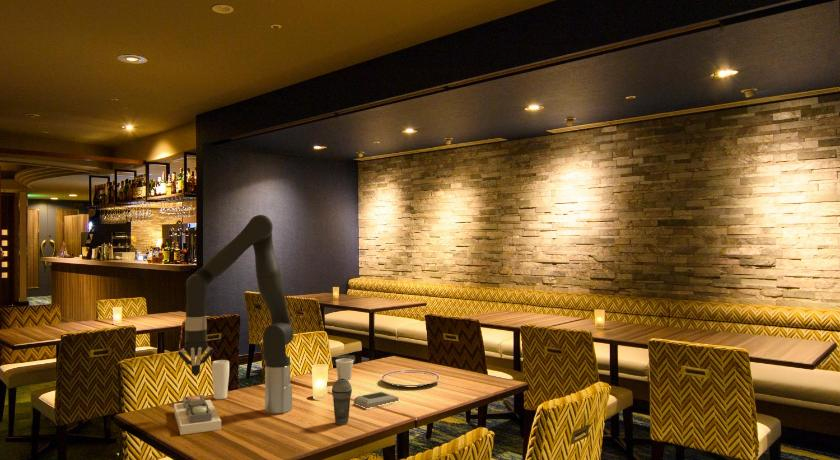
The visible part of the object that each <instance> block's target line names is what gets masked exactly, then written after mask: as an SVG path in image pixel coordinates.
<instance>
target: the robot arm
mask: <svg viewBox="0 0 840 460" xmlns="http://www.w3.org/2000/svg"><path fill="white" fill-rule="evenodd" d="M248 221H249V222H248V223H247V224H246V225H245V226H244V228H243V229H242V230H241V231H240V232H239V233H238V235H237V236H236V237H234V238H233V239H232V240H231V241H230V242H229V243H227V244H226V245H225V246H224V247H222V248H221V249H220V250H219V251H218V252H217V253H215V254H214V255H213V256H212V257H210V259H209V260H207V261H206V263H205V264H204V265H203V266H201V267H200V268H199V269H198V270H195V272H193V273H192V274H191V275H189V277H188V278H187V279H186V282H185V292H186V293H185V294H186V304H185V322H184V345H183V348H182V349H180V350H178V351H177V355H179V357H180V358H181V359H182V361H184V362H185V363H186V365H189V366H191V374H192V375H193V377H196V376H199V374H201V365H202V364H204V363H206V362H207V360H208V359H209V358H210V356H211V355H212V354H213V353H214V351H215V350H214V349H213V347H210V346H209V344H208V342H207V341H208V340H207V339H208V337H207V333H208V332H207V331H208V329H207V328H208V325H207V324H208V322H207V305H206V299H207V298H206V297H207V287H208V286H209V285H210V284H211V283H212V282H213V281H214V280H215V279H217V278H219V277H220V276H221V275H222V274H223V273H225V272H226V271H227V270H228V269H229V268H231V266H232V265H233V264H234V263H235V262H236V261H237V260H238V259H240V257H241V256H242V255H243V254H244V253H245V252H247V250H248V249H249V248H250V247H253V251H254V261H255V262H254V263H255V273H256V281H257V286H258V288H257V289H258V291H259V294H260V296H261V298H262V300H263V301H264V303H265V305H266V306H267V309H268V312H269V315H270V320H271V324H269V325H267V326H266V328H265V329H264V330H263V334H262V353H263V355H262V356H263V360H264V362H265V369H264V370H265V371H264V373H265V375H264V379H265V380H264V384H265V385H264V386H265V387H264V412H265V413H267V414H276V415H277V414H285V413H288V412H289V411H291V410H293V384H292V383H291V358H290V357H289V355H287V351H286V350H287V349H286V346H287V345H290V343H291V342H292V340H293V339H294V328H293V324H292V322H291V318H290V314H289V312H288V308H287V307H288V306H287V301H286V296H285V291H284V284H283V279H282V278H283V277H282V272H281V269H280V265H279V261H278V259H277V257H276V254H275V250H274V244H273V222H272V220H271V219H270V218H269V216H266V215H264V214H258V215H255V216H253V217H252V218H250V220H248ZM205 352H206V353H205ZM186 353H187V355H188V356H190V360H189V358H187V356H186ZM204 353H205V355H204V356H203V357H202V355H203V354H204Z"/></svg>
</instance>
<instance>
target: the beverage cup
mask: <svg viewBox="0 0 840 460" xmlns="http://www.w3.org/2000/svg"><path fill="white" fill-rule="evenodd" d="M339 377H340V379H338V378H337V380H336V381H334V382H333V384H332V387H331V394H332V401H333V411H334V412H333V415H334V423H336V424H335V425H337V424H345V425H347V424H346V423H348V424H349V417H350V408H351V396H352V393H353V392H352V391H353V389H352V384H351V382H350V383H349V381H348V380H346V379H341V371H340V366H339Z"/></svg>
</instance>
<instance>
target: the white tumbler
mask: <svg viewBox="0 0 840 460" xmlns="http://www.w3.org/2000/svg"><path fill="white" fill-rule="evenodd" d="M211 375H212V376H211V377H212V387H213V399H214V400H225V399H227V397H228V391H229V390H228V388H229V379H230V378H229V377H230V361H229V360H227V359H218V360H214V361H212V365H211Z"/></svg>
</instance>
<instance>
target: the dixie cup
mask: <svg viewBox="0 0 840 460" xmlns="http://www.w3.org/2000/svg"><path fill="white" fill-rule="evenodd" d="M354 361H355V360H354V359H352V358H338V359H335V366H336V374H337V380H338V379H340V377H339V366H340V371H341V379H346V380H350V379H351V380H352V375H353V373H352V372H353V367H354V366H353V365H354Z"/></svg>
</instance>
